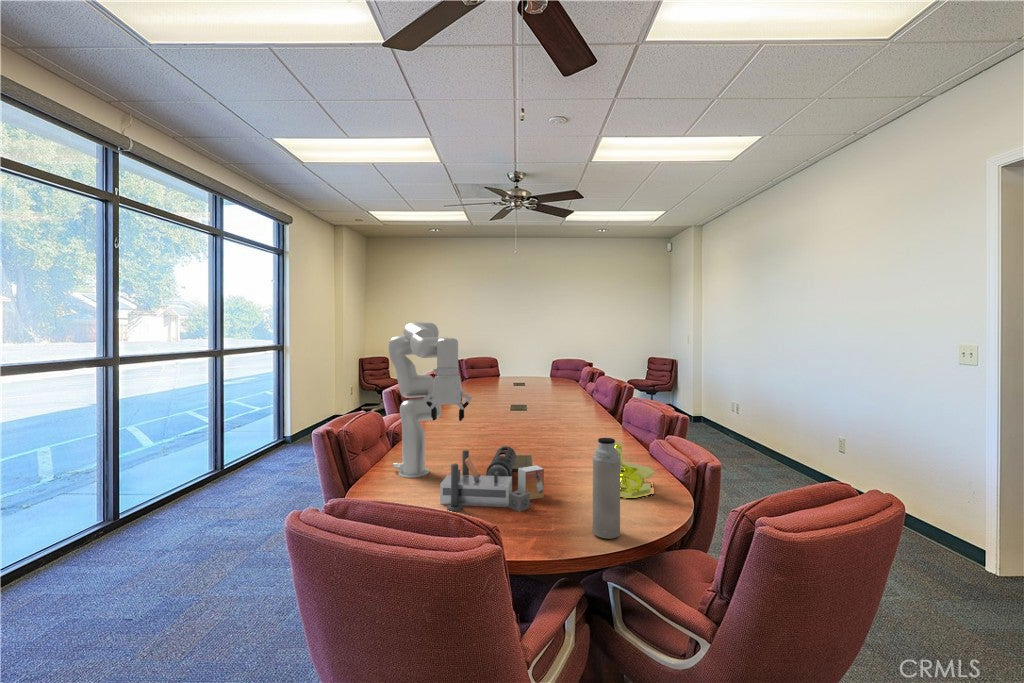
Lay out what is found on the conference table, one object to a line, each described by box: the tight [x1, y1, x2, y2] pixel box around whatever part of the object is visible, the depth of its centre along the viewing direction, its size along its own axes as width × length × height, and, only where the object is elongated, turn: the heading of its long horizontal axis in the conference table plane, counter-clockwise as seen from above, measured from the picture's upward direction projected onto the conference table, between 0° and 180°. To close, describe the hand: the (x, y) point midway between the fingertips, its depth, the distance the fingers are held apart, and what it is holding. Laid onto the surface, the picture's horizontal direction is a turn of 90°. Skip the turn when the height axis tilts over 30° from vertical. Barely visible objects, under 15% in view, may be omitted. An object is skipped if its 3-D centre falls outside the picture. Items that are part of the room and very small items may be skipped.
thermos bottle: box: [592, 437, 621, 539], centre depth 130 cm, size 8×8×28 cm
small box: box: [517, 464, 545, 501], centre depth 159 cm, size 8×6×10 cm
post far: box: [461, 449, 470, 475], centre depth 166 cm, size 5×5×15 cm
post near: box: [446, 463, 463, 513], centre depth 148 cm, size 5×5×15 cm
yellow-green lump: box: [614, 441, 656, 499], centre depth 170 cm, size 18×25×16 cm
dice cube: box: [508, 489, 531, 513], centre depth 149 cm, size 5×5×5 cm
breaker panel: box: [439, 469, 513, 508], centre depth 156 cm, size 24×11×10 cm, turn 84°
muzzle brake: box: [485, 445, 517, 477], centre depth 180 cm, size 10×28×10 cm, turn 174°
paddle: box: [465, 457, 481, 482], centre depth 157 cm, size 2×4×8 cm, turn 174°
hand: (447, 419), depth 158 cm, fingers open, 9 cm apart
